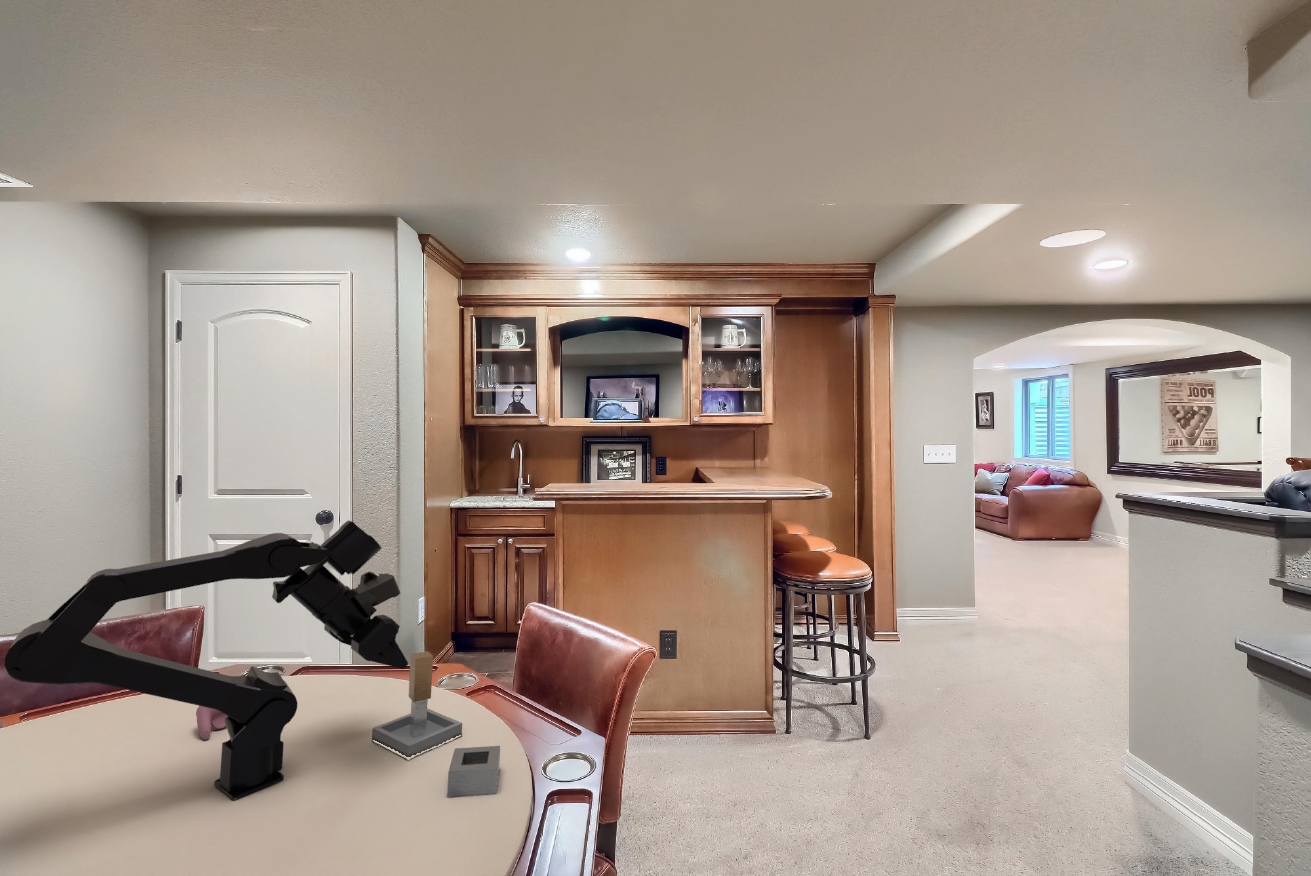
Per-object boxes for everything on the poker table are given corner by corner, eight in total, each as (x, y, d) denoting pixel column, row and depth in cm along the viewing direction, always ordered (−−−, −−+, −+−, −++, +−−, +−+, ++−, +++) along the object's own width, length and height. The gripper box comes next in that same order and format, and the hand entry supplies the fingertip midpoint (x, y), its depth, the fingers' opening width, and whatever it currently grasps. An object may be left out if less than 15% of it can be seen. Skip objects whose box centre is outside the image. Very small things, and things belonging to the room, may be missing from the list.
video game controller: (263, 725, 104) (259, 684, 106) (272, 720, 101) (267, 679, 103) (194, 745, 96) (191, 700, 98) (202, 740, 93) (199, 695, 96)
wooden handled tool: (429, 734, 97) (433, 655, 98) (411, 739, 95) (415, 658, 96) (423, 728, 99) (427, 651, 100) (406, 732, 98) (410, 654, 98)
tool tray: (408, 760, 90) (409, 745, 90) (371, 741, 96) (372, 727, 96) (461, 736, 99) (462, 723, 99) (425, 720, 104) (425, 707, 104)
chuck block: (496, 793, 82) (497, 768, 82) (447, 797, 81) (448, 771, 81) (499, 768, 89) (500, 745, 89) (453, 772, 87) (454, 748, 88)
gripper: (390, 564, 87) (455, 630, 94) (351, 552, 101) (410, 610, 107) (327, 625, 81) (401, 691, 88) (294, 603, 95) (361, 662, 101)
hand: (395, 659), depth 96 cm, fingers open, 9 cm apart
